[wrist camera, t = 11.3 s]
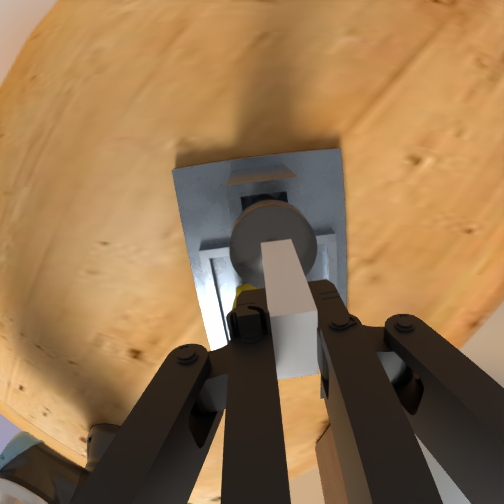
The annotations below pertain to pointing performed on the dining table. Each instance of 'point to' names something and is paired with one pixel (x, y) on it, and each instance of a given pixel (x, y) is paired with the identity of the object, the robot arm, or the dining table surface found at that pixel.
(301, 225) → the ball
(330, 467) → the wooden block
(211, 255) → the base
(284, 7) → the dining table surface
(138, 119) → the dining table surface
